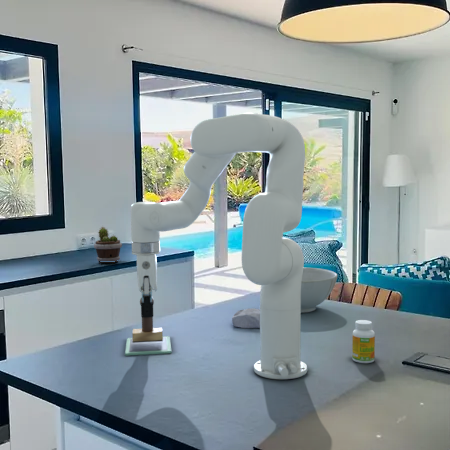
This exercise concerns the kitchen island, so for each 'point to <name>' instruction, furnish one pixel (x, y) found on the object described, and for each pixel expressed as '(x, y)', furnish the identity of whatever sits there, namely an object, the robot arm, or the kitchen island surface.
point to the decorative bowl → (316, 287)
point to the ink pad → (148, 347)
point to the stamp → (147, 331)
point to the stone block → (247, 318)
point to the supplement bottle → (363, 342)
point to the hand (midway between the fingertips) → (147, 314)
